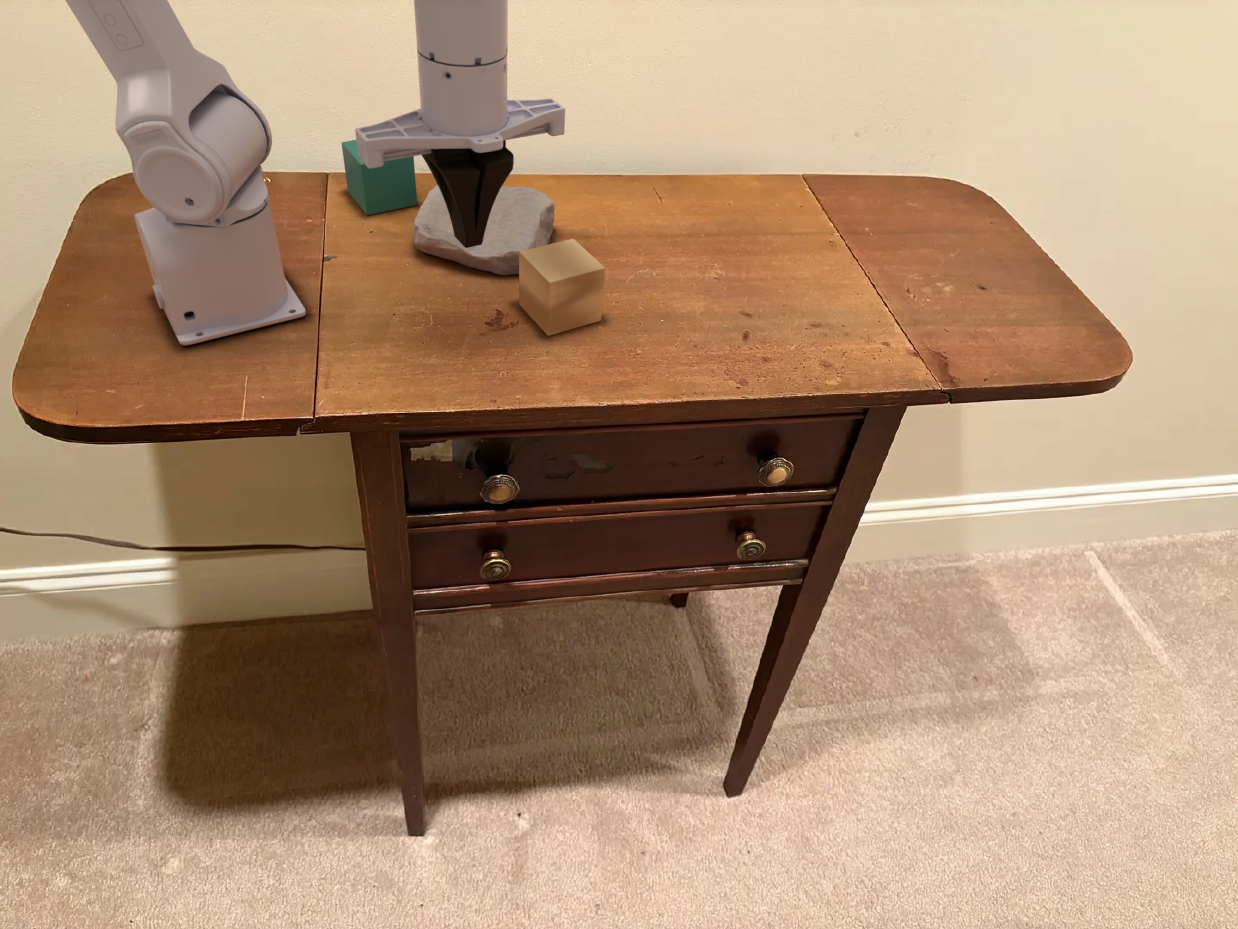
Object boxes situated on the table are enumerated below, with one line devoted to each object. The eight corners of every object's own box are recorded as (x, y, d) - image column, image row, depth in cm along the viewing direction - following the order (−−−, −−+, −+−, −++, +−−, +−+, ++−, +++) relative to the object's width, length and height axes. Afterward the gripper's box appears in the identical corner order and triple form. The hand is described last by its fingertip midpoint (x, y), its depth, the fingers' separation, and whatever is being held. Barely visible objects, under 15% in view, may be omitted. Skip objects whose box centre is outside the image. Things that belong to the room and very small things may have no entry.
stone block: (541, 296, 80) (558, 221, 86) (539, 254, 76) (556, 178, 82) (408, 284, 81) (434, 210, 87) (398, 241, 77) (426, 167, 83)
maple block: (547, 336, 73) (549, 282, 70) (518, 304, 76) (519, 251, 73) (601, 320, 75) (605, 267, 72) (571, 290, 78) (573, 237, 75)
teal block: (367, 215, 85) (360, 164, 81) (347, 192, 88) (341, 141, 84) (417, 205, 87) (413, 154, 84) (397, 182, 90) (392, 132, 87)
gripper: (376, 88, 53) (396, 289, 62) (591, 58, 60) (580, 245, 69) (334, 46, 57) (358, 240, 67) (539, 22, 64) (535, 203, 73)
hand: (468, 240), depth 68 cm, fingers closed
